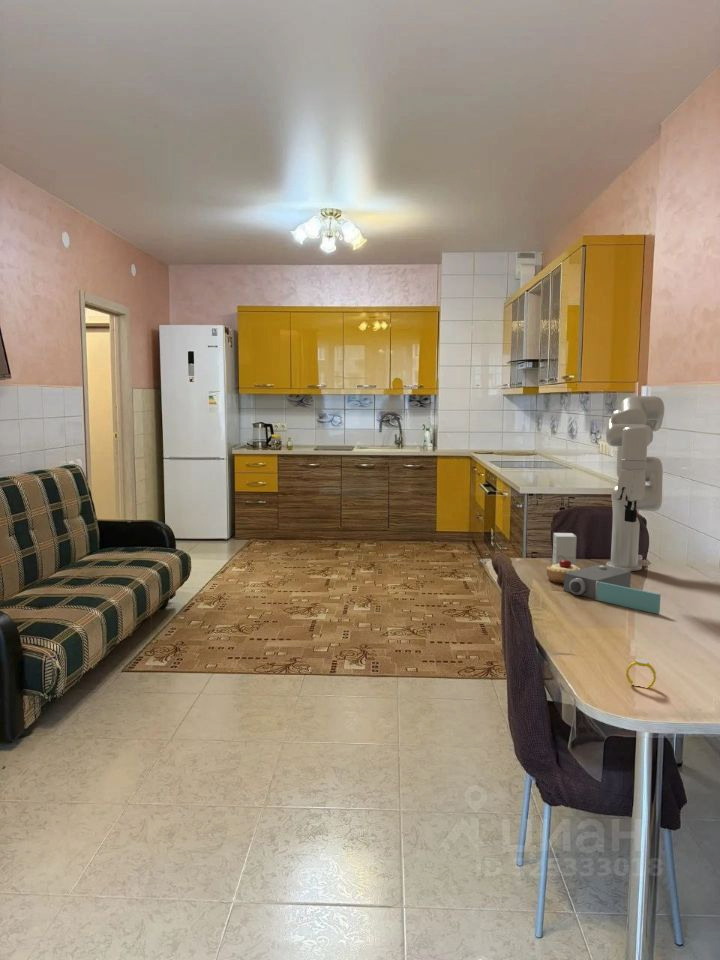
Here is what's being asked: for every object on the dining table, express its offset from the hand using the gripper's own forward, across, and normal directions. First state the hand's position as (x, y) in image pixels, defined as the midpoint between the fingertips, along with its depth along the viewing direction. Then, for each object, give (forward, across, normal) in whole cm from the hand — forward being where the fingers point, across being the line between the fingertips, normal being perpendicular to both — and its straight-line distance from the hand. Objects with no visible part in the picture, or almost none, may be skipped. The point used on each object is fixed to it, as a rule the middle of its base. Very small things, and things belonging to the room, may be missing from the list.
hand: (630, 521), depth 223 cm
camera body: (+24, +5, -8) cm, 26 cm away
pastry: (+25, +3, -22) cm, 33 cm away
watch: (+21, +68, +40) cm, 82 cm away
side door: (+23, +15, +8) cm, 29 cm away
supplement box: (+25, -15, -33) cm, 44 cm away
